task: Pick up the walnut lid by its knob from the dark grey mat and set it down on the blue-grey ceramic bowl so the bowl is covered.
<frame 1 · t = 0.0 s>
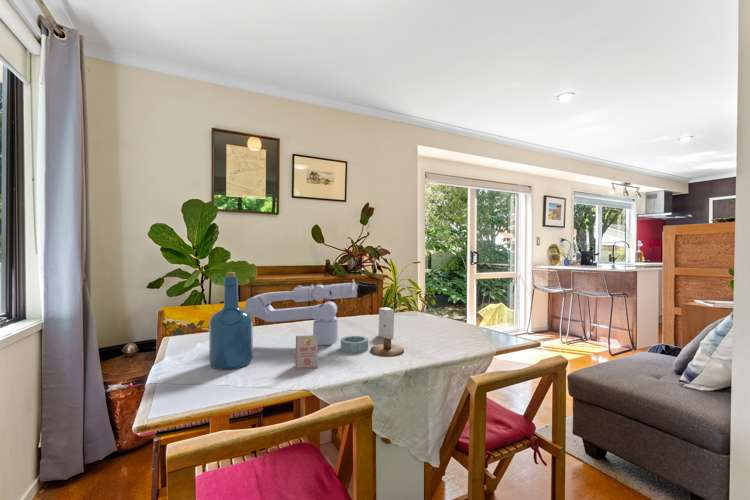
hand: (376, 287, 145), 22 cm above the table, tool horizontal, fingers open, 7 cm apart
bowl: (354, 350, 136), on the table
wine bottle: (231, 364, 120), on the table
mat: (387, 352, 132), on the table
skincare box: (386, 337, 153), on the table
lid: (387, 350, 132), point 1 cm above the table, touching mat
beige printed carton: (306, 367, 118), on the table
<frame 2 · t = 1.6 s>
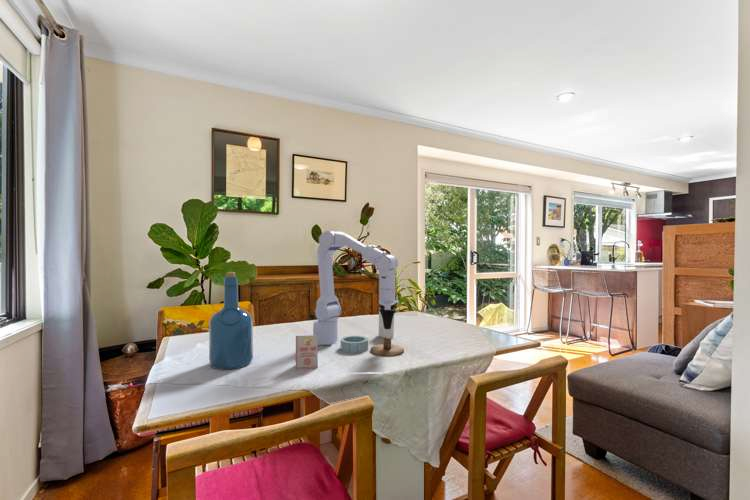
hand: (387, 326, 132), 9 cm above the table, tool pointing down, fingers open, 7 cm apart
nothing on the table moved.
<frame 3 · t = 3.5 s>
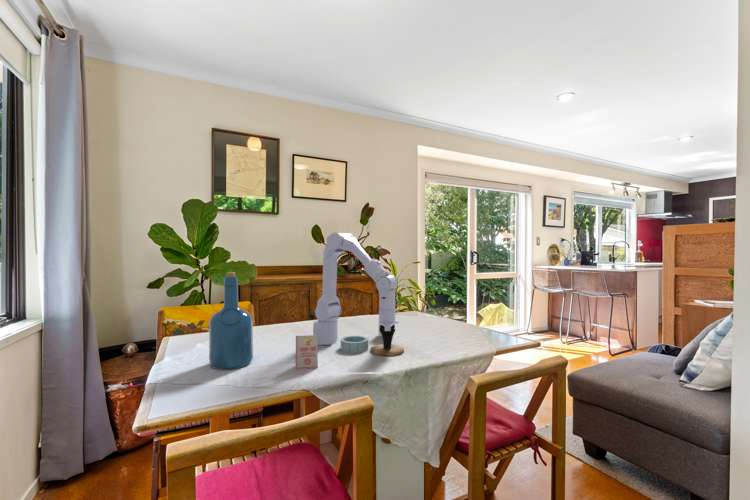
hand: (387, 346, 132), 2 cm above the table, tool pointing down, fingers closed on lid, 3 cm apart
lid: (387, 350, 132), point 1 cm above the table, touching gripper, mat
everything else where it was.
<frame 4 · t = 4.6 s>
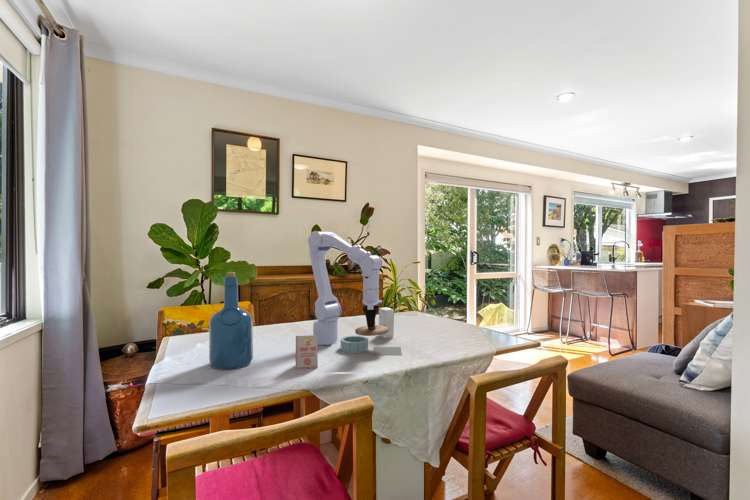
hand: (370, 325, 134), 9 cm above the table, tool pointing down, fingers closed on lid, 3 cm apart
lid: (371, 331, 134), point 7 cm above the table, touching gripper
everything else where it was.
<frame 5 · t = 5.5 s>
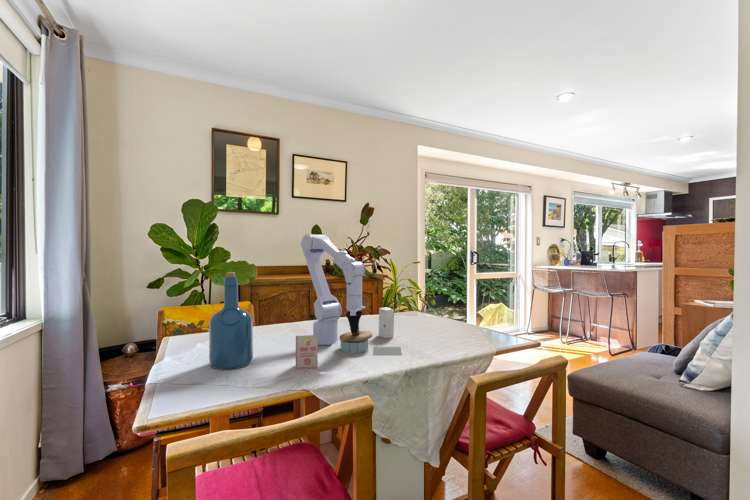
hand: (354, 331, 135), 7 cm above the table, tool pointing down, fingers closed on lid, 3 cm apart
lid: (356, 337, 135), point 5 cm above the table, touching gripper
everything else where it was.
when the fingers open (7 cm above the table, at t = 6.1 s): lid stays where it is, resting on bowl.
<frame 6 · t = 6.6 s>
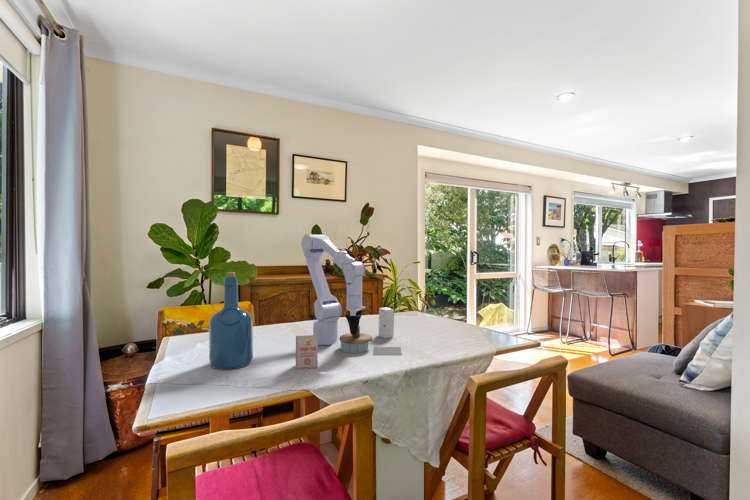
hand: (354, 331, 135), 7 cm above the table, tool pointing down, fingers open, 7 cm apart
lid: (356, 339, 136), point 4 cm above the table, touching bowl
everything else where it was.
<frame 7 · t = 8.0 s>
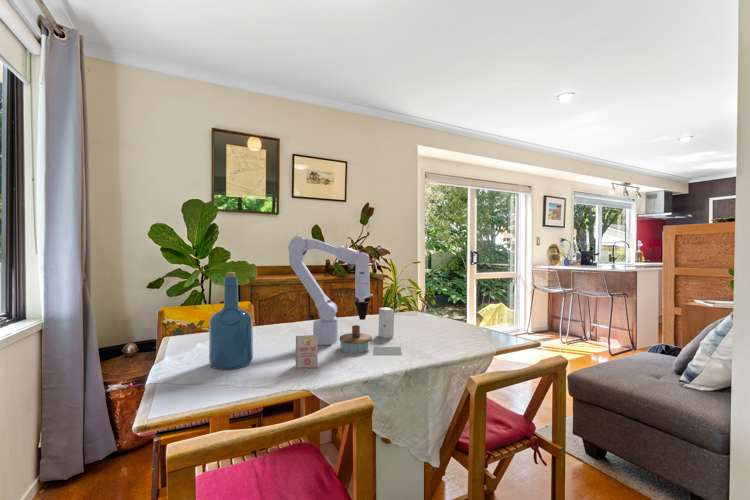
hand: (363, 317, 145), 10 cm above the table, tool pointing down, fingers open, 7 cm apart
nothing on the table moved.
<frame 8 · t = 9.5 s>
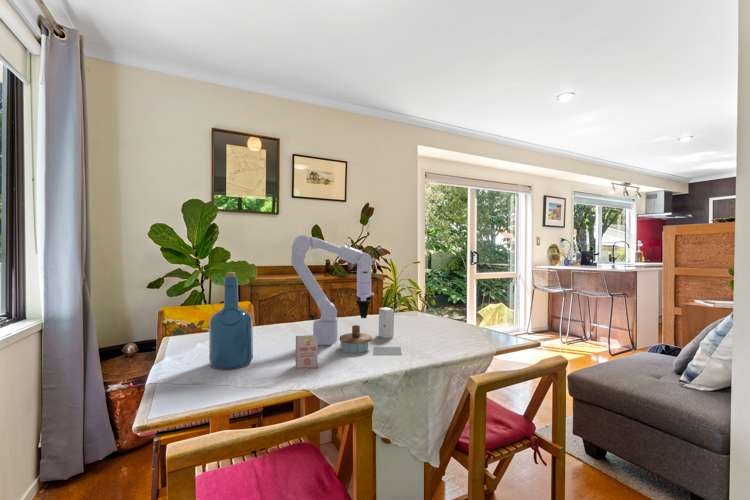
hand: (364, 316, 148), 10 cm above the table, tool pointing down, fingers open, 7 cm apart
nothing on the table moved.
at the end: lid 0.6 cm off-centre on the bowl, point 4.0 cm above the bowl's base; lid tilted 0°; the gripper is holding nothing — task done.
